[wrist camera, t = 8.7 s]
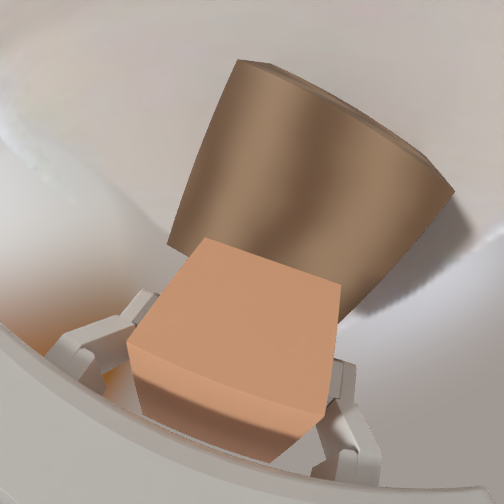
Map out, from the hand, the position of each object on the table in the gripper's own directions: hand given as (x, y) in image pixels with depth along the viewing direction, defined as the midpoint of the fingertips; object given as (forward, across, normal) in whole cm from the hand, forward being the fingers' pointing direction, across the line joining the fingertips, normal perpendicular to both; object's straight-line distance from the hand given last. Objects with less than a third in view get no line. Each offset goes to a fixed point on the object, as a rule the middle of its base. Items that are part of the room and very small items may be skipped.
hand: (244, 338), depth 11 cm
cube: (+2, 0, 0) cm, 2 cm away
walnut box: (+18, 0, 0) cm, 18 cm away
